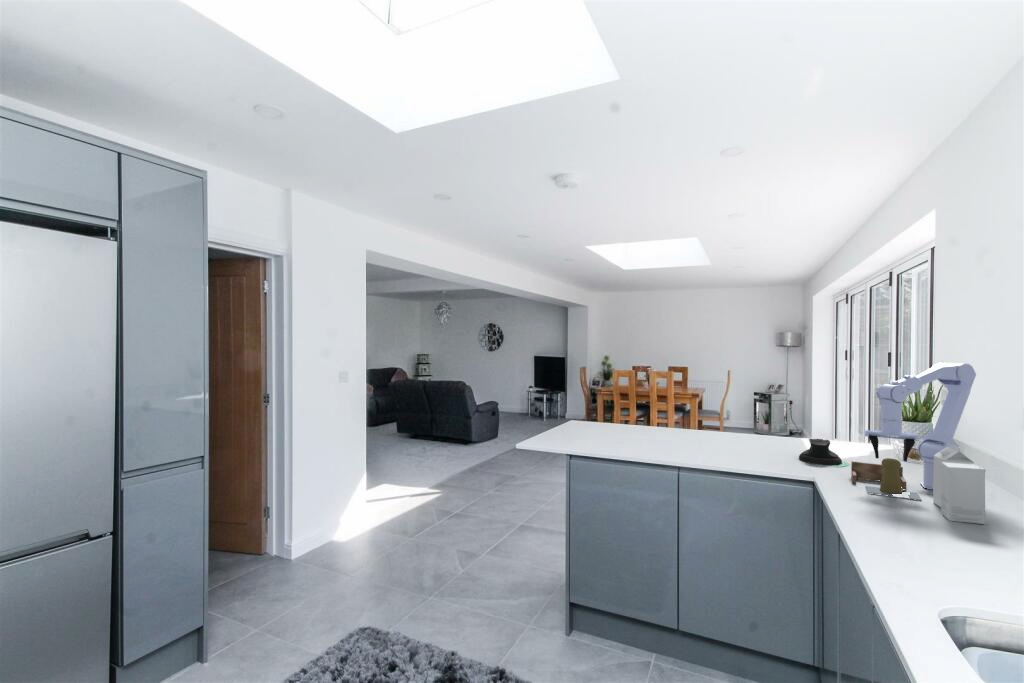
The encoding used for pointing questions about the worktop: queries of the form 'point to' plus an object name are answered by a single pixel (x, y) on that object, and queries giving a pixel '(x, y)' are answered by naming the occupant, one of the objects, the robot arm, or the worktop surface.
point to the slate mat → (877, 491)
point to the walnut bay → (871, 472)
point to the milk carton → (950, 456)
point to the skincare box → (963, 492)
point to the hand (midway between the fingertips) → (890, 459)
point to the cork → (891, 476)
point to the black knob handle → (821, 454)
